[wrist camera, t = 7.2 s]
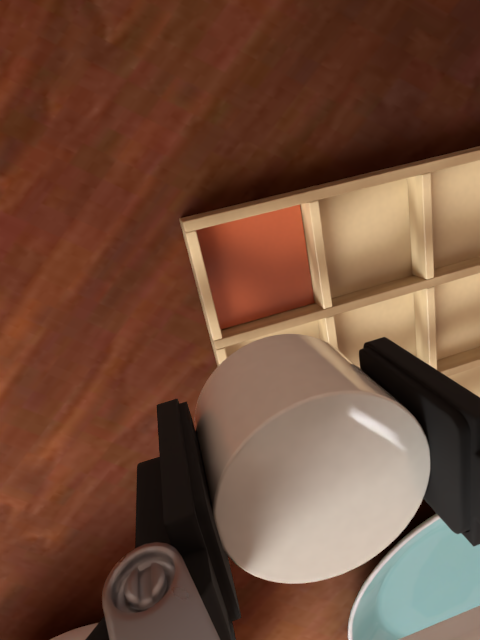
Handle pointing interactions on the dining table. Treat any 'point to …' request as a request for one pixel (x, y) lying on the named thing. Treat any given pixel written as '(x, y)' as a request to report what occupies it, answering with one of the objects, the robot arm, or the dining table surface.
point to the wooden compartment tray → (351, 264)
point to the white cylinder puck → (306, 460)
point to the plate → (417, 584)
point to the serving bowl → (76, 633)
